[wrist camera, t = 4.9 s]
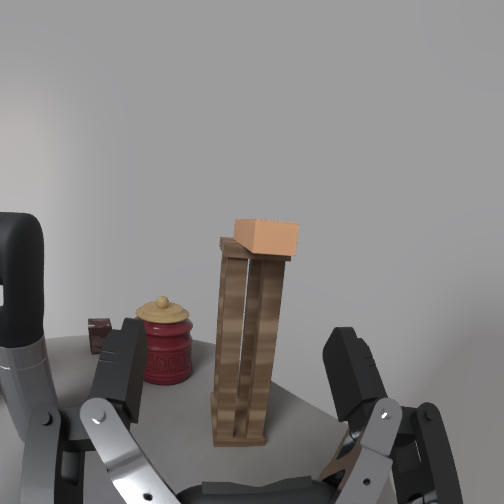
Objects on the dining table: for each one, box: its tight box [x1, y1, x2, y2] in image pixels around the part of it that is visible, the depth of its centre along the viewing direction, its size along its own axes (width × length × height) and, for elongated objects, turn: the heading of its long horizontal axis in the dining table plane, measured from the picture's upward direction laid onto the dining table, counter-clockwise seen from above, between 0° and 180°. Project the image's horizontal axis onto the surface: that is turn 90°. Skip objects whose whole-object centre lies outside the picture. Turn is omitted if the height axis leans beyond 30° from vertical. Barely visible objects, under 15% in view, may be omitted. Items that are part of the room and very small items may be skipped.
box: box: [88, 318, 112, 354], centre depth 62 cm, size 6×6×7 cm
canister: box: [134, 296, 193, 385], centre depth 57 cm, size 13×13×18 cm
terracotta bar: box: [234, 219, 299, 256], centre depth 36 cm, size 20×4×3 cm, turn 9°
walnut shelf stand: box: [211, 237, 291, 447], centre depth 42 cm, size 14×8×31 cm, turn 9°
